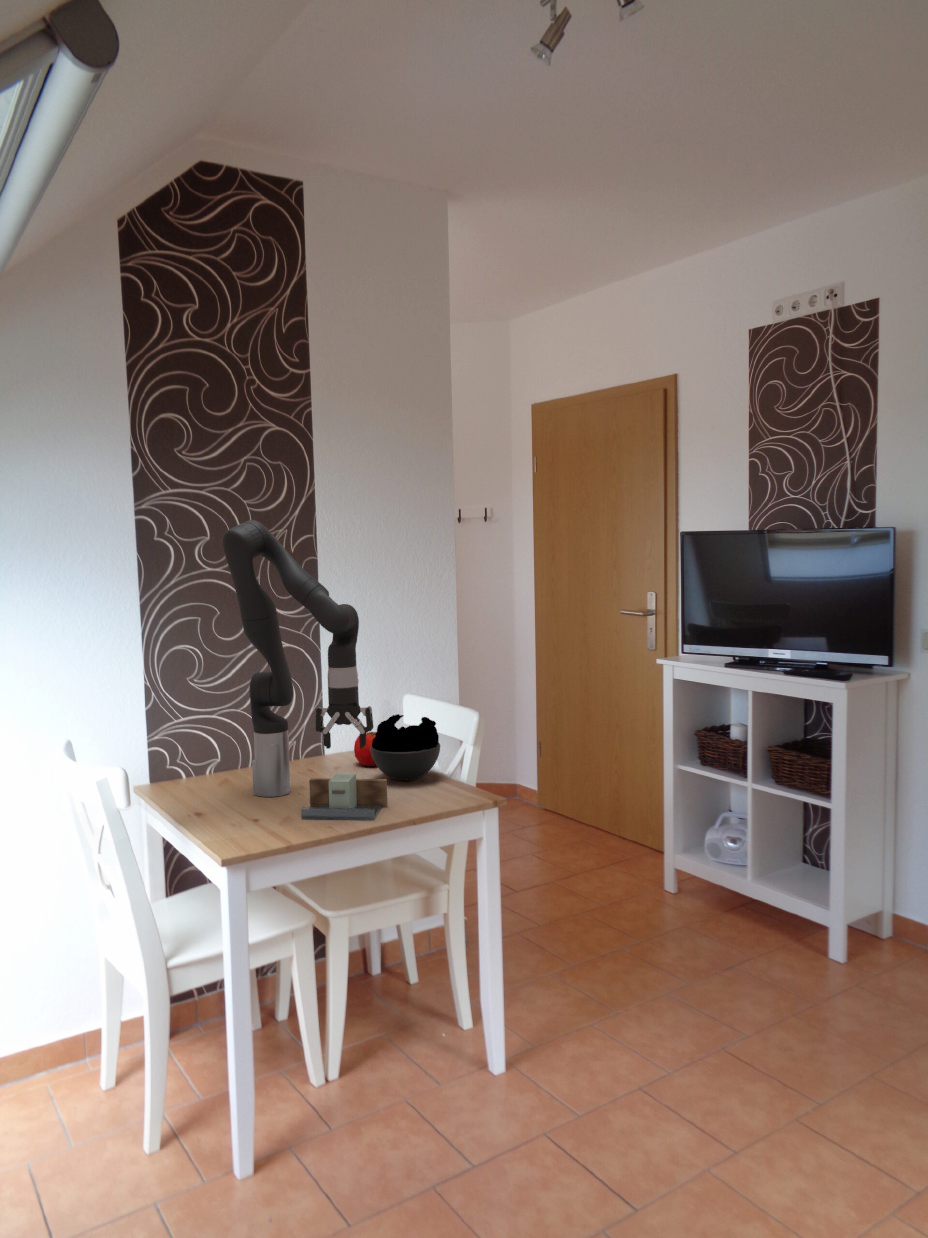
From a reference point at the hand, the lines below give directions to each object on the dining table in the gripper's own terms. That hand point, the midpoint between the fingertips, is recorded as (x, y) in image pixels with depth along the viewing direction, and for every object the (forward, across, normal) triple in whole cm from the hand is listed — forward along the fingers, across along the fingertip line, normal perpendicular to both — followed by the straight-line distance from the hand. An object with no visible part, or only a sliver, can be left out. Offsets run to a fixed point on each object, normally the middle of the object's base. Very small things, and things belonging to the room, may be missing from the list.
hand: (345, 748), depth 228 cm
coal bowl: (+17, +10, +31) cm, 37 cm away
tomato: (+17, -3, +50) cm, 53 cm away
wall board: (+16, 0, +4) cm, 17 cm away
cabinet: (+15, -1, -1) cm, 15 cm away
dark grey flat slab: (+16, -1, -2) cm, 16 cm away
